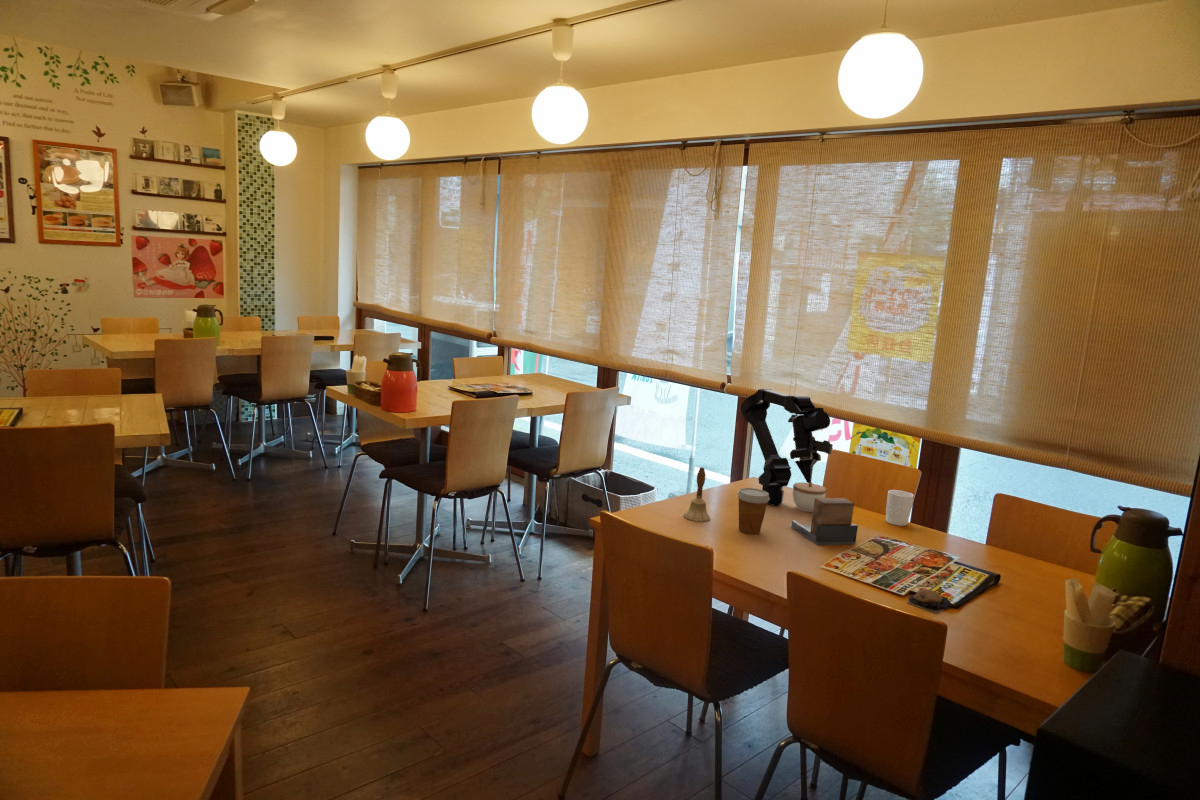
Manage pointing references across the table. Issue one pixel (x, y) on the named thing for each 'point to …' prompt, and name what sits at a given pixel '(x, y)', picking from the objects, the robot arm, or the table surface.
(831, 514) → the walnut slider
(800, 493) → the lidded jar
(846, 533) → the grey open tray
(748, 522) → the disposable coffee cup
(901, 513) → the white cup
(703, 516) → the hand bell
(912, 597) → the bread roll
